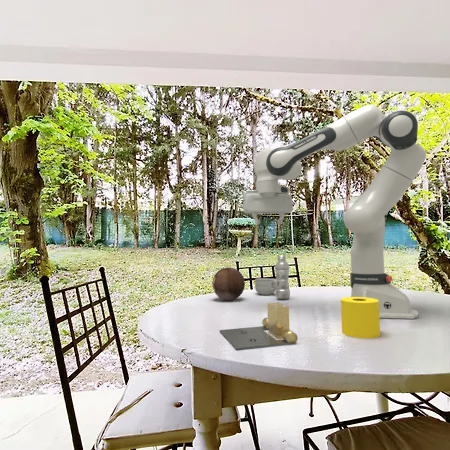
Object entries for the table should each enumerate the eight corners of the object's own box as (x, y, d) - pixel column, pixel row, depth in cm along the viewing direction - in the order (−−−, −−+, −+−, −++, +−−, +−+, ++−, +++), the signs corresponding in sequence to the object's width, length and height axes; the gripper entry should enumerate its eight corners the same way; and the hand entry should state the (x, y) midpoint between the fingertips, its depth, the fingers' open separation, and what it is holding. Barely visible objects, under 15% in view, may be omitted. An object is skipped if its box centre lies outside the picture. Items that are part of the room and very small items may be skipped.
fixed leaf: (219, 331, 99) (219, 321, 100) (271, 327, 104) (271, 317, 104) (236, 350, 82) (236, 337, 82) (297, 343, 86) (297, 331, 86)
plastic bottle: (275, 298, 156) (274, 255, 157) (290, 298, 155) (288, 255, 156) (275, 300, 150) (274, 255, 151) (290, 300, 149) (289, 255, 150)
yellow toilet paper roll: (373, 340, 87) (371, 304, 88) (336, 334, 94) (334, 300, 94) (385, 332, 95) (383, 298, 95) (350, 327, 101) (348, 295, 102)
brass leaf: (268, 332, 97) (267, 303, 98) (279, 331, 98) (278, 302, 99) (277, 339, 91) (276, 307, 91) (289, 338, 92) (288, 306, 92)
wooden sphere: (245, 297, 161) (245, 266, 162) (244, 303, 146) (243, 268, 147) (215, 297, 162) (214, 266, 163) (210, 303, 147) (209, 269, 148)
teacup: (251, 293, 171) (251, 278, 172) (269, 292, 175) (269, 276, 176) (265, 297, 158) (264, 280, 159) (284, 295, 163) (284, 279, 163)
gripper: (245, 188, 128) (246, 224, 127) (293, 188, 133) (295, 223, 132) (240, 191, 134) (241, 225, 133) (286, 191, 139) (288, 224, 138)
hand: (268, 224), depth 133 cm, fingers open, 8 cm apart
